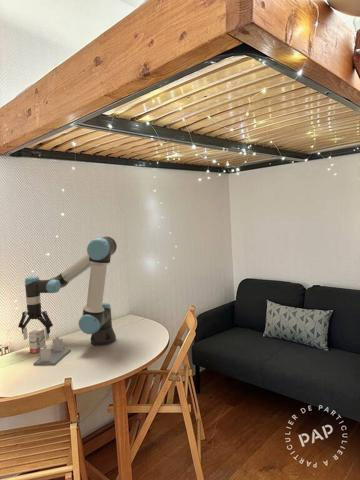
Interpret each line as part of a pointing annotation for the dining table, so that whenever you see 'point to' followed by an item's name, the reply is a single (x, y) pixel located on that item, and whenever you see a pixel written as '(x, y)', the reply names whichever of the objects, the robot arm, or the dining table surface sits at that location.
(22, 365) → the dining table surface
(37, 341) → the ink box
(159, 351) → the dining table surface
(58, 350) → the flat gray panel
